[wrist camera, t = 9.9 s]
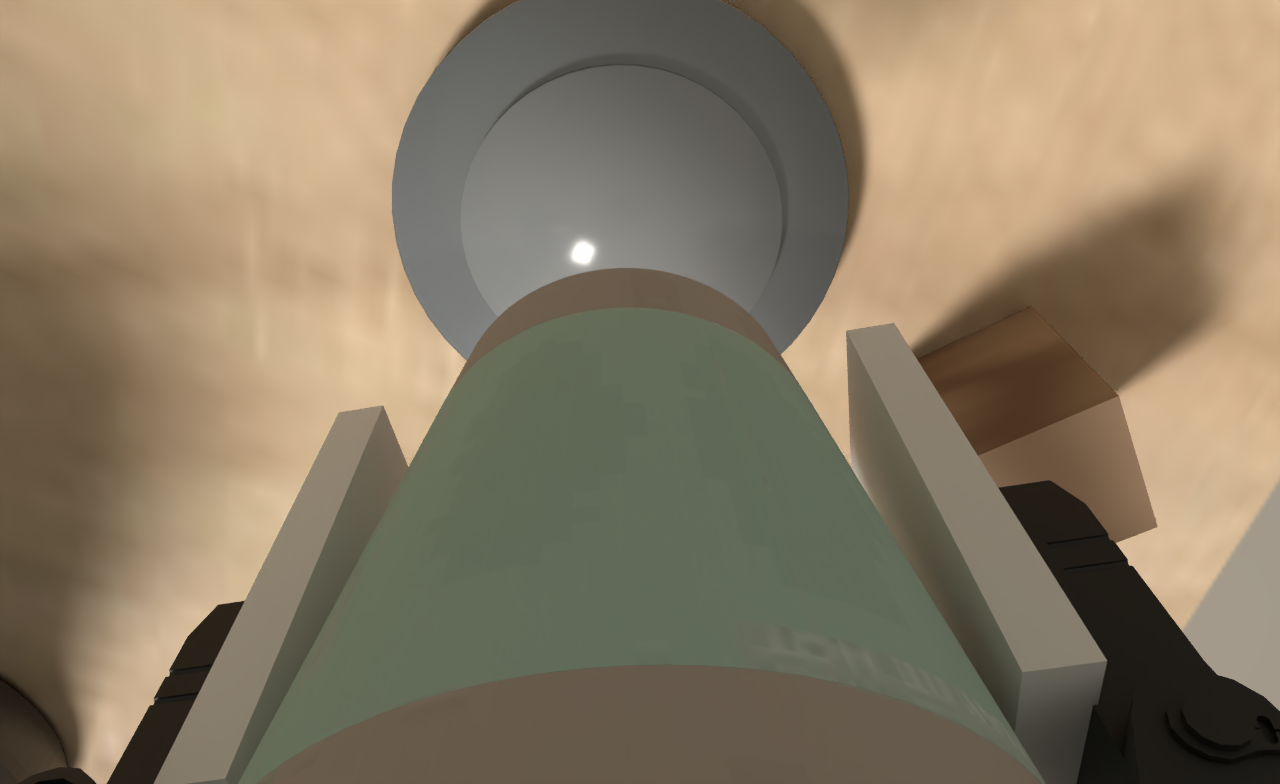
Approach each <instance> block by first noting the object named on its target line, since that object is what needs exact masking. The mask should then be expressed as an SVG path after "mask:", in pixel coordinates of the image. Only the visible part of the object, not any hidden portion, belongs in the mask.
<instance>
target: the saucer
mask: <svg viewBox="0 0 1280 784" xmlns="http://www.w3.org/2000/svg"><path fill="white" fill-rule="evenodd" d="M848 201H849V189H848V179H847V169H846V162H845V157H844V153H843V149H842V145H841V141H840V137H839V133H838V131H837V128H836V126H835V123H834V121H833V118H832V116H831V113H830V111H829V108H828V106H827V104H826V102H825V101H824V99H823V97H822V96H821V94H820V92H819V90H818V89H817V87H816V85H815V83H814V82H813V80H812V78H811V77H810V76H809V75H808V73H807V72H806V71H805V70H804V68H803V67H802V66H801V64H800V63H799V62H798V61H797V59H796V58H795V57H794V56H793V54H792V53H791V52H790V51H789V50H788V49H787V48H786V47H785V46H784V45H783V44H782V43H780V42H779V41H778V40H777V39H776V38H775V37H774V36H773V35H772V34H771V33H770V32H769V31H768V30H767V29H766V28H765V27H764V26H762V25H761V24H760V23H758V22H757V21H755V20H754V19H752V18H751V17H750V16H748V15H747V14H745V13H744V12H742V11H741V10H740V9H738V8H737V7H735V6H733V5H731V4H729V3H727V2H725V1H723V0H516V1H513V2H512V3H510V4H509V5H507V6H505V7H504V8H502V9H501V10H499V11H497V12H496V13H494V14H493V15H491V16H489V17H488V18H486V19H485V20H484V21H483V22H481V23H480V24H479V25H478V26H477V27H476V28H474V29H473V30H472V31H471V32H470V33H469V34H467V35H466V36H465V37H464V38H463V39H462V40H461V41H460V42H459V43H458V44H457V45H456V46H455V47H454V49H453V50H452V51H451V52H450V53H449V54H448V55H447V57H446V58H445V59H444V60H443V61H442V62H441V63H440V65H439V66H438V67H437V68H436V69H435V70H434V72H433V74H432V75H431V77H430V78H429V80H428V81H427V83H426V84H425V86H424V88H423V89H422V91H421V92H420V94H419V95H418V97H417V99H416V101H415V104H414V106H413V108H412V110H411V112H410V115H409V117H408V119H407V121H406V123H405V126H404V129H403V133H402V136H401V140H400V143H399V147H398V150H397V154H396V160H395V167H394V174H393V182H392V215H393V222H394V229H395V236H396V242H397V246H398V250H399V253H400V257H401V260H402V264H403V267H404V270H405V272H406V275H407V277H408V279H409V282H410V284H411V286H412V289H413V291H414V294H415V295H416V297H417V299H418V300H419V302H420V304H421V306H422V307H423V309H424V311H425V312H426V314H427V316H428V317H429V319H430V320H431V321H432V323H433V324H434V325H435V327H436V328H437V329H438V330H439V332H440V333H441V334H442V336H443V337H444V338H445V339H446V340H447V342H448V343H449V344H450V345H451V346H452V347H453V348H454V349H455V350H456V351H457V352H458V353H459V354H460V355H461V356H462V357H463V358H464V359H466V360H468V358H469V357H470V355H471V353H472V351H473V349H474V348H475V346H476V344H477V343H478V341H479V340H480V338H481V337H482V335H483V334H484V333H485V331H486V330H487V329H488V328H489V326H490V325H491V324H492V323H493V322H494V321H495V320H496V319H497V318H498V317H499V316H500V315H501V314H502V313H503V312H504V311H506V310H507V309H508V308H509V307H510V306H512V305H513V304H514V303H516V302H517V301H518V300H520V299H522V298H523V297H525V296H526V295H528V294H529V293H531V292H533V291H535V290H537V289H539V288H540V287H543V286H545V285H547V284H549V283H552V282H554V281H557V280H560V279H562V278H565V277H568V276H572V275H576V274H579V273H584V272H589V271H594V270H601V269H612V268H641V269H651V270H658V271H664V272H668V273H673V274H677V275H680V276H684V277H687V278H690V279H693V280H695V281H698V282H700V283H703V284H705V285H707V286H709V287H711V288H713V289H715V290H717V291H719V292H721V293H722V294H724V295H725V296H727V297H729V298H730V299H732V300H733V301H734V302H736V303H737V304H738V305H740V306H741V307H742V308H743V309H745V310H746V311H747V312H748V313H749V314H750V315H751V316H752V317H753V318H754V319H755V320H756V321H757V322H758V323H759V324H760V326H761V327H762V328H763V329H764V331H765V332H766V333H767V335H768V336H769V338H770V339H771V341H772V342H773V344H774V345H775V347H776V348H777V350H778V352H779V353H780V355H781V354H782V353H783V352H784V351H785V350H786V349H787V348H788V347H789V346H790V345H791V344H792V343H793V342H794V340H795V339H796V338H797V337H798V335H799V334H800V333H801V332H802V330H803V329H804V328H805V327H806V326H807V324H808V323H809V322H810V320H811V318H812V317H813V315H814V314H815V312H816V310H817V309H818V307H819V306H820V304H821V302H822V301H823V299H824V297H825V295H826V293H827V290H828V288H829V286H830V284H831V282H832V280H833V277H834V275H835V272H836V269H837V266H838V263H839V259H840V256H841V253H842V250H843V245H844V239H845V234H846V228H847V222H848Z"/></svg>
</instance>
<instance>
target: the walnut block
mask: <svg viewBox="0 0 1280 784" xmlns="http://www.w3.org/2000/svg"><path fill="white" fill-rule="evenodd" d="M917 360H918V362H919V363H920V365H921V366H922V368H923V370H924V371H925V373H926V374H927V376H928V378H929V379H930V381H931V382H932V384H933V386H934V387H935V389H936V390H937V392H938V393H939V395H940V397H941V398H942V400H943V401H944V403H945V405H946V406H947V408H948V409H949V411H950V412H951V414H952V416H953V417H954V419H955V420H956V422H957V424H958V425H959V427H960V428H961V430H962V431H963V433H964V435H965V436H966V438H967V439H968V441H969V443H970V444H971V446H972V447H973V449H974V450H975V452H976V454H977V455H978V457H979V458H980V460H981V462H982V463H983V465H984V466H985V468H986V469H987V471H988V473H989V474H990V476H991V477H992V479H993V481H994V482H995V484H996V485H997V487H998V488H999V487H1006V486H1013V485H1019V484H1026V483H1033V482H1040V481H1046V480H1051V481H1052V482H1054V483H1055V484H1057V485H1058V486H1060V487H1061V488H1063V489H1064V490H1066V491H1067V492H1069V493H1070V494H1072V495H1073V496H1075V497H1076V498H1078V499H1079V500H1081V501H1082V502H1084V503H1085V504H1086V505H1087V506H1088V507H1089V509H1090V510H1091V511H1092V513H1093V514H1094V515H1095V517H1096V518H1097V519H1098V521H1099V522H1100V523H1101V525H1102V526H1103V527H1104V529H1105V530H1106V531H1107V533H1108V534H1109V539H1110V540H1113V541H1114V542H1115V543H1117V542H1119V541H1122V540H1125V539H1127V538H1130V537H1132V536H1135V535H1138V534H1140V533H1143V532H1145V531H1148V530H1151V529H1153V528H1156V527H1157V524H1156V520H1155V517H1154V513H1153V510H1152V507H1151V503H1150V500H1149V497H1148V493H1147V490H1146V486H1145V483H1144V480H1143V476H1142V473H1141V470H1140V466H1139V463H1138V459H1137V456H1136V453H1135V449H1134V446H1133V442H1132V439H1131V436H1130V432H1129V429H1128V426H1127V422H1126V419H1125V415H1124V412H1123V409H1122V405H1121V402H1120V398H1119V396H1118V395H1117V394H1116V393H1115V392H1114V390H1113V389H1112V388H1111V387H1110V386H1109V385H1108V384H1107V383H1106V382H1105V381H1104V380H1103V379H1102V378H1101V377H1100V376H1099V375H1098V374H1097V373H1096V372H1095V371H1094V370H1093V369H1092V368H1091V367H1090V366H1089V365H1088V364H1087V363H1086V362H1085V361H1084V360H1083V359H1082V358H1081V357H1080V355H1079V354H1078V353H1077V352H1076V351H1075V350H1074V349H1073V348H1072V347H1071V346H1070V345H1069V344H1068V343H1067V342H1066V341H1065V340H1064V339H1063V338H1062V337H1061V336H1060V335H1059V334H1058V333H1057V332H1056V331H1055V330H1054V329H1053V328H1052V327H1051V326H1050V325H1049V324H1048V323H1047V322H1046V320H1045V319H1044V318H1043V317H1042V316H1041V315H1040V314H1039V313H1038V312H1037V311H1036V310H1035V309H1034V308H1033V307H1032V306H1031V307H1029V308H1026V309H1024V310H1022V311H1020V312H1018V313H1016V314H1013V315H1011V316H1009V317H1007V318H1005V319H1003V320H1001V321H998V322H996V323H994V324H992V325H990V326H988V327H985V328H983V329H981V330H979V331H977V332H975V333H973V334H970V335H968V336H966V337H964V338H962V339H960V340H957V341H955V342H953V343H951V344H949V345H947V346H945V347H942V348H940V349H938V350H936V351H934V352H932V353H929V354H927V355H925V356H923V357H921V358H919V359H917Z"/></svg>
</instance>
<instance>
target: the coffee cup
mask: <svg viewBox="0 0 1280 784" xmlns="http://www.w3.org/2000/svg"><path fill="white" fill-rule="evenodd" d="M238 784H1046V783H1045V781H1044V780H1043V778H1042V777H1041V775H1040V773H1039V772H1038V770H1037V768H1036V767H1035V765H1034V764H1033V762H1032V760H1031V759H1030V757H1029V756H1028V754H1027V752H1026V751H1025V749H1024V747H1023V746H1022V744H1021V743H1020V741H1019V739H1018V738H1017V736H1016V734H1015V733H1014V731H1013V730H1012V728H1011V726H1010V725H1009V723H1008V721H1007V720H1006V718H1005V717H1004V715H1003V713H1002V712H1001V710H1000V708H999V707H998V705H997V704H996V702H995V700H994V699H993V697H992V696H991V694H990V692H989V691H988V689H987V687H986V686H985V684H984V683H983V681H982V679H981V678H980V676H979V674H978V673H977V671H976V670H975V668H974V666H973V665H972V663H971V661H970V660H969V658H968V657H967V655H966V653H965V652H964V650H963V648H962V647H961V645H960V644H959V642H958V640H957V639H956V637H955V636H954V634H953V632H952V631H951V629H950V627H949V626H948V624H947V623H946V621H945V619H944V618H943V616H942V614H941V613H940V611H939V610H938V608H937V606H936V605H935V603H934V601H933V600H932V598H931V597H930V595H929V593H928V592H927V590H926V588H925V587H924V585H923V584H922V582H921V580H920V579H919V577H918V576H917V574H916V572H915V571H914V569H913V567H912V566H911V564H910V563H909V561H908V559H907V558H906V556H905V554H904V553H903V551H902V550H901V548H900V546H899V545H898V543H897V541H896V540H895V538H894V537H893V535H892V533H891V532H890V530H889V528H888V527H887V525H886V524H885V522H884V520H883V519H882V517H881V516H880V514H879V512H878V511H877V509H876V507H875V506H874V504H873V503H872V501H871V499H870V498H869V496H868V494H867V493H866V491H865V490H864V488H863V486H862V485H861V483H860V481H859V480H858V478H857V477H856V475H855V473H854V472H853V470H852V469H851V467H850V465H849V464H848V462H847V460H846V459H845V457H844V456H843V454H842V452H841V451H840V449H839V447H838V446H837V444H836V443H835V441H834V439H833V438H832V436H831V434H830V433H829V431H828V430H827V428H826V426H825V425H824V423H823V421H822V420H821V418H820V417H819V415H818V413H817V412H816V410H815V409H814V407H813V405H812V404H811V402H810V400H809V399H808V397H807V396H806V394H805V393H804V391H803V390H802V388H801V386H800V385H799V383H798V382H797V380H796V379H795V377H794V375H793V374H792V372H791V371H790V369H789V367H788V366H787V364H786V363H785V361H784V360H783V358H782V356H781V355H780V353H779V352H778V350H777V348H776V347H775V345H774V344H773V342H772V341H771V339H770V338H769V336H768V335H767V333H766V332H765V331H764V329H763V328H762V327H761V326H760V324H759V323H758V322H757V321H756V320H755V319H754V318H753V317H752V316H751V315H750V314H749V313H748V312H747V311H746V310H745V309H743V308H742V307H741V306H740V305H738V304H737V303H736V302H734V301H733V300H732V299H730V298H729V297H727V296H725V295H724V294H722V293H721V292H719V291H717V290H715V289H713V288H711V287H709V286H707V285H705V284H703V283H700V282H698V281H695V280H693V279H690V278H687V277H684V276H680V275H677V274H673V273H668V272H664V271H658V270H651V269H641V268H612V269H601V270H594V271H589V272H584V273H579V274H576V275H572V276H568V277H565V278H562V279H560V280H557V281H554V282H552V283H549V284H547V285H545V286H543V287H540V288H539V289H537V290H535V291H533V292H531V293H529V294H528V295H526V296H525V297H523V298H522V299H520V300H518V301H517V302H516V303H514V304H513V305H512V306H510V307H509V308H508V309H507V310H506V311H504V312H503V313H502V314H501V315H500V316H499V317H498V318H497V319H496V320H495V321H494V322H493V323H492V324H491V325H490V326H489V328H488V329H487V330H486V331H485V333H484V334H483V335H482V337H481V338H480V340H479V341H478V343H477V344H476V346H475V348H474V349H473V351H472V353H471V355H470V357H469V358H468V360H467V362H466V364H465V366H464V367H463V369H462V371H461V373H460V375H459V376H458V378H457V380H456V382H455V384H454V386H453V387H452V389H451V391H450V393H449V395H448V396H447V398H446V400H445V401H444V403H443V405H442V407H441V409H440V410H439V412H438V414H437V416H436V418H435V420H434V422H433V423H432V425H431V427H430V429H429V431H428V433H427V435H426V436H425V438H424V440H423V442H422V444H421V446H420V448H419V449H418V451H417V453H416V455H415V457H414V459H413V460H412V462H411V464H410V466H409V468H408V470H407V472H406V473H405V475H404V477H403V479H402V481H401V483H400V485H399V486H398V488H397V490H396V492H395V494H394V496H393V497H392V499H391V501H390V503H389V505H388V507H387V509H386V510H385V512H384V514H383V516H382V518H381V520H380V522H379V523H378V525H377V527H376V529H375V531H374V533H373V535H372V536H371V538H370V540H369V542H368V544H367V546H366V547H365V549H364V551H363V553H362V555H361V557H360V559H359V560H358V562H357V564H356V566H355V568H354V570H353V572H352V573H351V575H350V577H349V579H348V581H347V583H346V584H345V586H344V588H343V590H342V592H341V594H340V596H339V597H338V599H337V601H336V603H335V605H334V607H333V609H332V610H331V612H330V614H329V616H328V618H327V620H326V622H325V623H324V625H323V627H322V629H321V631H320V633H319V634H318V636H317V638H316V640H315V642H314V644H313V646H312V647H311V649H310V651H309V653H308V655H307V657H306V659H305V660H304V662H303V664H302V666H301V668H300V670H299V672H298V673H297V675H296V677H295V679H294V681H293V683H292V684H291V686H290V688H289V690H288V692H287V694H286V696H285V697H284V699H283V701H282V703H281V705H280V707H279V709H278V710H277V712H276V714H275V716H274V718H273V720H272V721H271V723H270V725H269V727H268V729H267V731H266V733H265V734H264V736H263V738H262V740H261V742H260V744H259V746H258V747H257V749H256V751H255V753H254V755H253V757H252V759H251V760H250V762H249V764H248V766H247V768H246V770H245V771H244V773H243V775H242V777H241V779H240V781H239V783H238Z"/></svg>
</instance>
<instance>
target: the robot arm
mask: <svg viewBox="0 0 1280 784" xmlns="http://www.w3.org/2000/svg"><path fill="white" fill-rule="evenodd" d="M846 337H847V366H848V395H849V424H850V452H851V466H852V468H853V471H854V473H855V475H856V477H857V478H858V480H859V481H860V483H861V485H862V486H863V488H864V490H865V491H866V493H867V494H868V496H869V498H870V499H871V501H872V503H873V504H874V506H875V507H876V509H877V511H878V512H879V514H880V516H881V517H882V519H883V520H884V522H885V524H886V525H887V527H888V528H889V530H890V532H891V533H892V535H893V537H894V538H895V540H896V541H897V543H898V545H899V546H900V548H901V550H902V551H903V553H904V554H905V556H906V558H907V559H908V561H909V563H910V564H911V566H912V567H913V569H914V571H915V572H916V574H917V576H918V577H919V579H920V580H921V582H922V584H923V585H924V587H925V588H926V590H927V592H928V593H929V595H930V597H931V598H932V600H933V601H934V603H935V605H936V606H937V608H938V610H939V611H940V613H941V614H942V616H943V618H944V619H945V621H946V623H947V624H948V626H949V627H950V629H951V631H952V632H953V634H954V636H955V637H956V639H957V640H958V642H959V644H960V645H961V647H962V648H963V650H964V652H965V653H966V655H967V657H968V658H969V660H970V661H971V663H972V665H973V666H974V668H975V670H976V671H977V673H978V674H979V676H980V678H981V679H982V681H983V683H984V684H985V686H986V687H987V689H988V691H989V692H990V694H991V696H992V697H993V699H994V700H995V702H996V704H997V705H998V707H999V708H1000V710H1001V712H1002V713H1003V715H1004V717H1005V718H1006V720H1007V721H1008V723H1009V725H1010V726H1011V728H1012V730H1013V731H1014V733H1015V734H1016V736H1017V738H1018V739H1019V741H1020V743H1021V744H1022V746H1023V747H1024V749H1025V751H1026V752H1027V754H1028V756H1029V757H1030V759H1031V760H1032V762H1033V764H1034V765H1035V767H1036V768H1037V770H1038V772H1039V773H1040V775H1041V777H1042V778H1043V780H1044V781H1045V783H1046V784H1280V711H1279V710H1278V709H1276V707H1274V706H1273V705H1272V704H1271V703H1270V702H1269V701H1268V700H1267V699H1266V698H1265V697H1264V696H1262V695H1260V694H1258V693H1256V692H1255V691H1253V690H1251V689H1249V688H1247V687H1246V686H1244V685H1242V684H1240V683H1238V682H1237V681H1235V680H1232V679H1229V678H1226V677H1222V676H1218V675H1217V674H1216V673H1215V672H1214V671H1213V670H1212V669H1211V668H1210V667H1209V666H1208V665H1207V663H1206V662H1205V661H1204V660H1203V659H1202V657H1201V656H1200V655H1199V653H1198V652H1197V651H1196V649H1195V648H1194V647H1193V645H1192V644H1191V643H1190V641H1189V640H1188V639H1187V637H1186V636H1185V635H1184V633H1183V632H1182V631H1181V629H1180V628H1179V627H1178V625H1177V624H1176V623H1175V621H1174V620H1173V619H1172V618H1171V616H1170V615H1169V614H1168V612H1167V611H1166V610H1165V608H1164V607H1163V606H1162V604H1161V603H1160V602H1159V600H1158V599H1157V598H1156V596H1155V595H1154V594H1153V592H1152V591H1151V590H1150V588H1149V587H1148V586H1147V584H1146V583H1145V582H1144V580H1143V579H1142V578H1141V576H1140V575H1139V574H1138V572H1137V571H1136V570H1135V568H1134V567H1133V566H1129V564H1128V559H1127V558H1126V557H1125V555H1124V554H1123V553H1122V551H1121V550H1120V549H1119V547H1118V546H1117V545H1116V543H1115V542H1114V541H1113V540H1110V539H1109V534H1108V533H1107V531H1106V530H1105V529H1104V527H1103V526H1102V525H1101V523H1100V522H1099V521H1098V519H1097V518H1096V517H1095V515H1094V514H1093V513H1092V511H1091V510H1090V509H1089V507H1088V506H1087V505H1086V504H1085V503H1084V502H1082V501H1081V500H1079V499H1078V498H1076V497H1075V496H1073V495H1072V494H1070V493H1069V492H1067V491H1066V490H1064V489H1063V488H1061V487H1060V486H1058V485H1057V484H1055V483H1054V482H1052V481H1051V480H1046V481H1040V482H1033V483H1026V484H1019V485H1013V486H1006V487H999V488H998V487H997V485H996V484H995V482H994V481H993V479H992V477H991V476H990V474H989V473H988V471H987V469H986V468H985V466H984V465H983V463H982V462H981V460H980V458H979V457H978V455H977V454H976V452H975V450H974V449H973V447H972V446H971V444H970V443H969V441H968V439H967V438H966V436H965V435H964V433H963V431H962V430H961V428H960V427H959V425H958V424H957V422H956V420H955V419H954V417H953V416H952V414H951V412H950V411H949V409H948V408H947V406H946V405H945V403H944V401H943V400H942V398H941V397H940V395H939V393H938V392H937V390H936V389H935V387H934V386H933V384H932V382H931V381H930V379H929V378H928V376H927V374H926V373H925V371H924V370H923V368H922V366H921V365H920V363H919V362H918V360H917V359H916V357H915V355H914V354H913V352H912V351H911V349H910V347H909V346H908V344H907V343H906V341H905V340H904V338H903V336H902V335H901V333H900V332H899V330H898V328H897V327H896V325H895V324H894V323H892V324H885V325H879V326H873V327H867V328H861V329H854V330H848V331H846ZM407 470H408V465H407V463H406V460H405V458H404V455H403V453H402V451H401V448H400V446H399V443H398V441H397V438H396V436H395V433H394V431H393V429H392V426H391V424H390V421H389V419H388V416H387V414H386V411H385V409H384V407H383V406H377V407H371V408H364V409H358V410H352V411H346V412H340V413H338V415H337V417H336V419H335V421H334V423H333V425H332V427H331V429H330V431H329V433H328V435H327V437H326V439H325V441H324V443H323V446H322V448H321V450H320V452H319V454H318V456H317V458H316V460H315V462H314V464H313V466H312V468H311V470H310V472H309V474H308V476H307V478H306V480H305V482H304V484H303V486H302V488H301V490H300V492H299V494H298V496H297V498H296V500H295V502H294V504H293V506H292V508H291V510H290V512H289V514H288V516H287V518H286V520H285V522H284V524H283V526H282V528H281V530H280V532H279V534H278V536H277V538H276V540H275V542H274V544H273V546H272V548H271V550H270V552H269V554H268V556H267V558H266V560H265V562H264V564H263V566H262V568H261V570H260V572H259V574H258V576H257V578H256V580H255V582H254V584H253V586H252V588H251V590H250V592H249V594H248V596H247V598H246V600H245V601H241V602H234V603H228V604H221V605H218V606H217V607H216V608H215V609H214V610H213V611H212V612H211V613H210V614H209V615H208V616H207V617H206V618H205V619H204V620H203V621H202V622H201V623H200V624H199V625H198V626H197V628H196V629H195V630H194V631H193V632H192V633H191V634H190V635H189V636H188V637H187V639H186V641H185V643H184V644H183V646H182V648H181V650H180V652H179V654H178V655H177V657H176V659H175V661H174V663H173V664H172V666H171V668H170V670H169V671H170V676H169V677H165V679H164V681H163V683H162V684H161V686H160V688H159V690H158V692H157V693H156V695H155V697H154V701H155V703H154V705H151V706H149V708H148V710H147V712H146V713H145V715H144V717H143V719H142V721H141V723H140V724H139V726H138V728H137V730H136V732H135V733H134V735H133V737H132V739H131V741H130V743H129V744H128V746H127V748H126V750H125V752H124V753H123V755H122V757H121V759H120V761H119V763H118V764H117V766H116V768H115V770H114V772H113V773H112V775H111V777H110V779H109V781H108V782H107V784H238V783H239V781H240V779H241V777H242V775H243V773H244V771H245V770H246V768H247V766H248V764H249V762H250V760H251V759H252V757H253V755H254V753H255V751H256V749H257V747H258V746H259V744H260V742H261V740H262V738H263V736H264V734H265V733H266V731H267V729H268V727H269V725H270V723H271V721H272V720H273V718H274V716H275V714H276V712H277V710H278V709H279V707H280V705H281V703H282V701H283V699H284V697H285V696H286V694H287V692H288V690H289V688H290V686H291V684H292V683H293V681H294V679H295V677H296V675H297V673H298V672H299V670H300V668H301V666H302V664H303V662H304V660H305V659H306V657H307V655H308V653H309V651H310V649H311V647H312V646H313V644H314V642H315V640H316V638H317V636H318V634H319V633H320V631H321V629H322V627H323V625H324V623H325V622H326V620H327V618H328V616H329V614H330V612H331V610H332V609H333V607H334V605H335V603H336V601H337V599H338V597H339V596H340V594H341V592H342V590H343V588H344V586H345V584H346V583H347V581H348V579H349V577H350V575H351V573H352V572H353V570H354V568H355V566H356V564H357V562H358V560H359V559H360V557H361V555H362V553H363V551H364V549H365V547H366V546H367V544H368V542H369V540H370V538H371V536H372V535H373V533H374V531H375V529H376V527H377V525H378V523H379V522H380V520H381V518H382V516H383V514H384V512H385V510H386V509H387V507H388V505H389V503H390V501H391V499H392V497H393V496H394V494H395V492H396V490H397V488H398V486H399V485H400V483H401V481H402V479H403V477H404V475H405V473H406V472H407ZM0 784H96V783H95V782H94V780H93V779H92V778H90V777H89V776H88V775H87V774H86V773H85V772H83V771H82V770H81V769H80V768H67V765H66V759H65V755H64V752H63V749H62V746H61V744H60V742H59V740H58V738H57V736H56V735H55V733H54V731H53V730H52V728H51V727H50V726H49V724H48V723H47V721H46V720H45V719H44V718H43V717H42V716H41V714H40V713H39V712H38V711H37V710H36V709H35V708H34V707H33V706H32V705H31V704H30V703H29V702H28V701H27V700H26V699H24V698H23V697H22V696H21V695H20V694H19V693H17V692H16V691H15V690H14V689H12V688H11V687H10V686H9V685H7V684H6V683H4V682H3V681H2V680H0Z"/></svg>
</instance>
